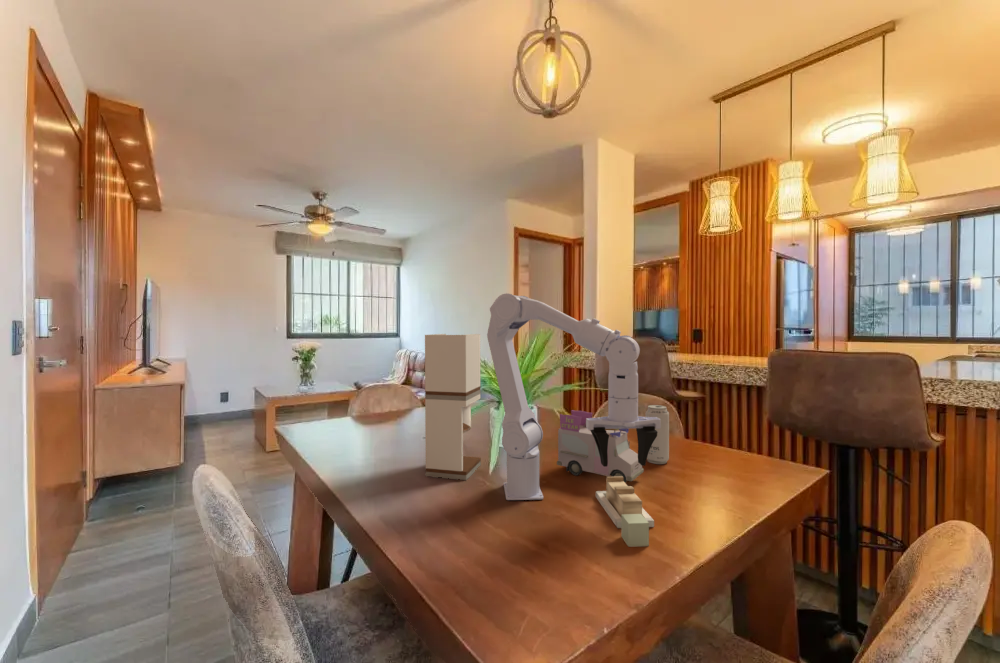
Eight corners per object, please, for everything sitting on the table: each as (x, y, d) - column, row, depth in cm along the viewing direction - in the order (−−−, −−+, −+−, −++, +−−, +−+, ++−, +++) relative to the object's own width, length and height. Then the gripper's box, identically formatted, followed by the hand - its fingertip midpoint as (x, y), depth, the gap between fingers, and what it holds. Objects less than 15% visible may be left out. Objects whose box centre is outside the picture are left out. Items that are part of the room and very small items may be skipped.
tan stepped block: (606, 501, 91) (606, 476, 91) (622, 501, 92) (622, 476, 92) (623, 525, 80) (623, 497, 80) (642, 525, 81) (642, 496, 81)
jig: (595, 496, 93) (595, 491, 93) (626, 495, 94) (626, 490, 94) (617, 528, 79) (617, 521, 79) (654, 526, 79) (654, 520, 79)
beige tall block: (466, 480, 103) (465, 335, 103) (425, 476, 106) (424, 334, 106) (480, 465, 114) (480, 333, 114) (443, 462, 117) (442, 333, 117)
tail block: (621, 536, 76) (621, 514, 76) (640, 536, 76) (640, 513, 76) (628, 547, 72) (628, 523, 72) (648, 546, 73) (648, 522, 73)
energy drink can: (640, 459, 119) (640, 405, 119) (657, 456, 121) (657, 403, 121) (657, 466, 113) (657, 409, 113) (673, 463, 116) (674, 407, 116)
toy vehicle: (630, 490, 97) (631, 424, 97) (555, 472, 109) (555, 413, 108) (644, 479, 104) (644, 417, 104) (572, 463, 116) (572, 408, 116)
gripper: (592, 400, 81) (592, 472, 81) (667, 399, 82) (667, 470, 82) (583, 394, 88) (583, 460, 89) (652, 393, 89) (652, 458, 89)
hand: (623, 464), depth 86 cm, fingers open, 7 cm apart
